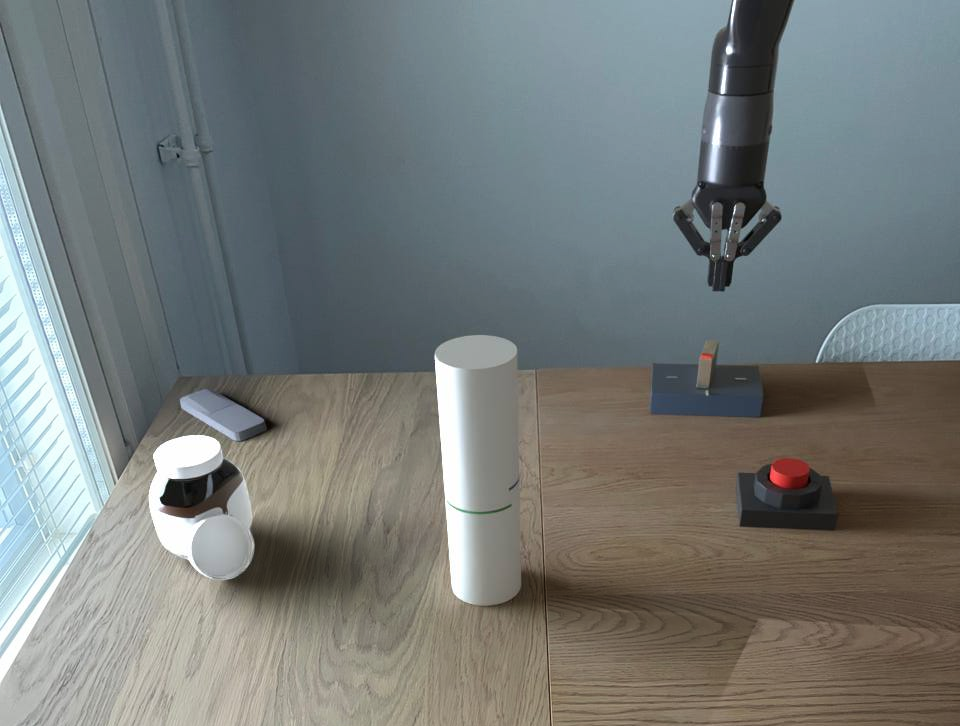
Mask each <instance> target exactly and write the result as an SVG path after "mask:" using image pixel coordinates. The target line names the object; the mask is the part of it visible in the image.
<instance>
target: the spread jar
mask: <svg viewBox="0 0 960 726" xmlns="http://www.w3.org/2000/svg"><path fill="white" fill-rule="evenodd" d="M153 460H154V464H155V467H156V470H157V472H156V473H155V475H154V478H153V480H152V483H151V484H150V489H149V493H148V502H149V509H150V513H151V517H152V520H153V524H154V527H155V530H156V534H157V536H158V538H159V541H160V543H161V544H162V545H163V546H164V547H163V548H165V549H167V550H168V551H169V552H170V553H172V554H174V555H175V556H177V557H180V558H181V559H184V560H186V561H189V562H190V564H191V565H192V567H193V568H194V569H195V570H196V571H197V572H198V573H200V574H201V575H203V576H205V577H207V578H209V579H212V580H216V581H227V580H231V579H234V578H236V577H238V576H239V575H241V574H242V573H244V571H246V569H248V567H249V566H250V564H251V563H252V560H253V557H254V553H255V539H254V536H253V533H252V531H251V526H252V523H253V522H252V521H253V512H252V511H253V510H252V505H251V500H250V496H249V490H248V487H247V483H246V482H247V481H246V480H245V477H244V474H243V472H242V470H241V469H240V468H239V467H238V466H237V465H236V464H234V463H233V462H232V461H230V460H229V459H227V458H226V457H224V454H223V450H222V445H221V443H220V441H218V440H217V439H215V438H214V437H211V436H207V435H199V434H197V435H185V436H180V437H176V438H173V439H171V440H168V441H166V442H164V443H163V444H161V445H160V446H159V447H157V449H156V450H155V452H154V453H153Z"/></svg>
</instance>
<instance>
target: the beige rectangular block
mask: <svg viewBox="0 0 960 726" xmlns="http://www.w3.org/2000/svg"><path fill="white" fill-rule="evenodd" d="M719 344H720V341H719V340H714V339H713V340H712V339H706V341H705V344H704V347H703V349H702V350H701V351H702V352H701V354H700V357H699V361H698V364H699V369H698V379H697V388H706V389H709V387H710V384H711V381H712V378H713V376H714V373H715V370H716V365H717V363H718V353H719Z"/></svg>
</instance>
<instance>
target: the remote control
mask: <svg viewBox="0 0 960 726" xmlns="http://www.w3.org/2000/svg"><path fill="white" fill-rule="evenodd" d="M179 402H180V408H181V409H182V410H183V411H185V412H186V413H188V414H190V415H191V416H193V417H195V418H196V419H198V420H199V421H201V422H203V423H205V424H206V425H207V426H209V427H211V428H212V429H214V430H216V431H218V432H220V433H221V434H223V435H224V436H226V437H228V438H229V439H231V440H232V441H235V442H242V441H245V440H247V439H250V438H252V437H254V436H257V435H259V434H263V433H264V432H266V431H267V429H268V427H267V425H266V421H265V419H264V418H263V417H261V416H259V415H258V414H256V413H254V412H252V411H251V410H249V409H247V408H245V407H244V406H242V405H240V404H239V403H236V402H235V401H233V400H232V399H229V397H226V396H224V395H222V394H221V393H219V392H217V391H216V390H213V389H212V388H202V389H200V390H197V391H195V392H192V393H189V394H187V395H185V396H182V397H180V399H179Z"/></svg>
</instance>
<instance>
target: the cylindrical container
mask: <svg viewBox="0 0 960 726" xmlns="http://www.w3.org/2000/svg"><path fill="white" fill-rule="evenodd" d="M434 360H435V361H434V363H435V376H436V378H435V379H436V390H437V403H438V416H439V417H438V418H439V419H438V420H439V430H440V431H439V432H440V443H441V444H440V445H441V457H442V471H443V485H444V499H445V512H446V526H447V527H446V528H447V541H448V554H449V569H450V581H451V589H452V593H453V594H454V595H455V596H456V598H457V599H459V600H461V601H462V602H464V603H466V604H469V605H473V606H481V607H482V606H483V607H488V606H489V607H490V606H496V605H499V604H503V603H507V602H508V601H510V600H512V599H513V598H514V597H516V596H517V595H518V593H520V590H521V587H522V551H521V550H522V549H521V547H522V545H521V542H522V541H521V494H520V493H521V492H520V490H521V489H520V488H521V487H520V437H519V436H520V434H519V433H520V432H519V431H520V430H519V427H520V425H519V423H520V422H519V376H518V375H519V373H518V369H519V368H518V348H517V345H516V344H515V343H513V342H512V341H510V340H509V339H506V338H504V337H500V336H496V335H486V334H474V335H473V334H472V335H465V336H459V337H455V338H452V339H449V340H447V341H445V342H443V343H441V344H440V345H438V346H437V347H436V349H435V351H434Z"/></svg>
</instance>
